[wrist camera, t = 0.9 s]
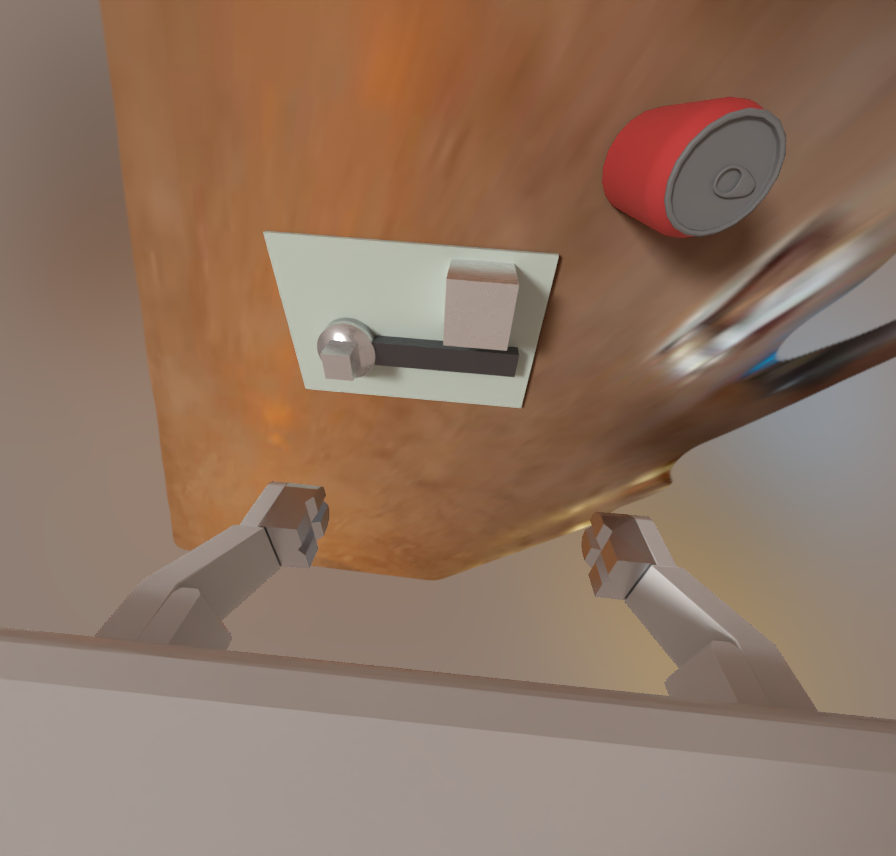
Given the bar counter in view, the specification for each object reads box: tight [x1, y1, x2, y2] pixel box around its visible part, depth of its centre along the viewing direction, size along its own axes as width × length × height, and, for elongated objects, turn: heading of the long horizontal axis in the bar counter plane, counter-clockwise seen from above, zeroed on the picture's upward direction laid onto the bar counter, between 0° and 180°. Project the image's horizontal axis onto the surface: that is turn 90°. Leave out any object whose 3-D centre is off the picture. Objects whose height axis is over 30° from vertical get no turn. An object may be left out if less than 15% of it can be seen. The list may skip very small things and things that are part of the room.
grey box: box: [443, 259, 519, 351], centre depth 32 cm, size 6×6×6 cm
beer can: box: [602, 97, 786, 238], centre depth 23 cm, size 7×7×12 cm
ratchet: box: [317, 318, 519, 381], centre depth 37 cm, size 6×22×5 cm, turn 87°
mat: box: [263, 231, 559, 408], centre depth 38 cm, size 18×28×1 cm, turn 87°
